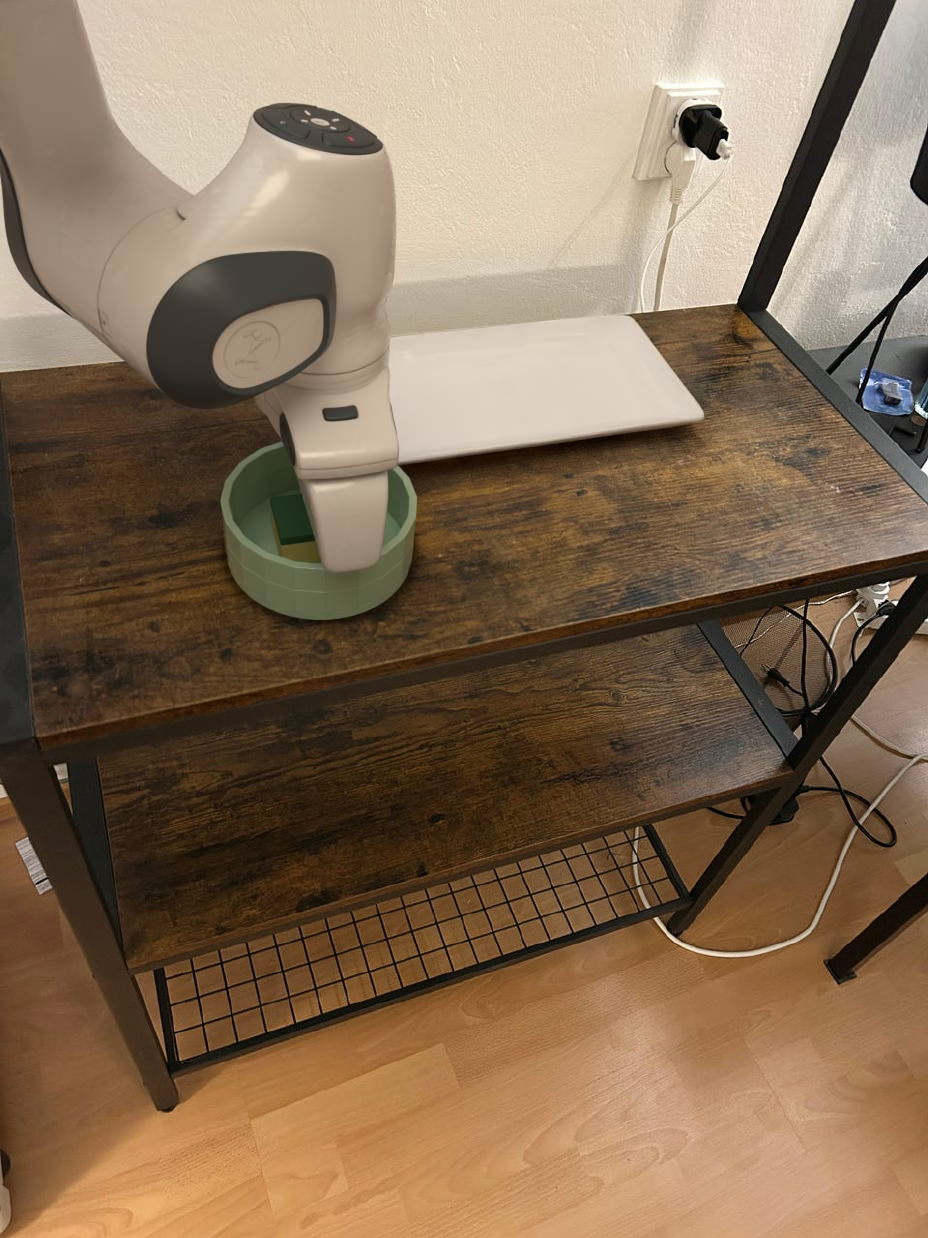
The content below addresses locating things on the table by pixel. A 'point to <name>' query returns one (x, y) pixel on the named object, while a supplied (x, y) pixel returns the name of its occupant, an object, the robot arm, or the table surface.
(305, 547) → the sponge
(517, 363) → the tray
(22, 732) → the table surface
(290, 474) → the bowl
